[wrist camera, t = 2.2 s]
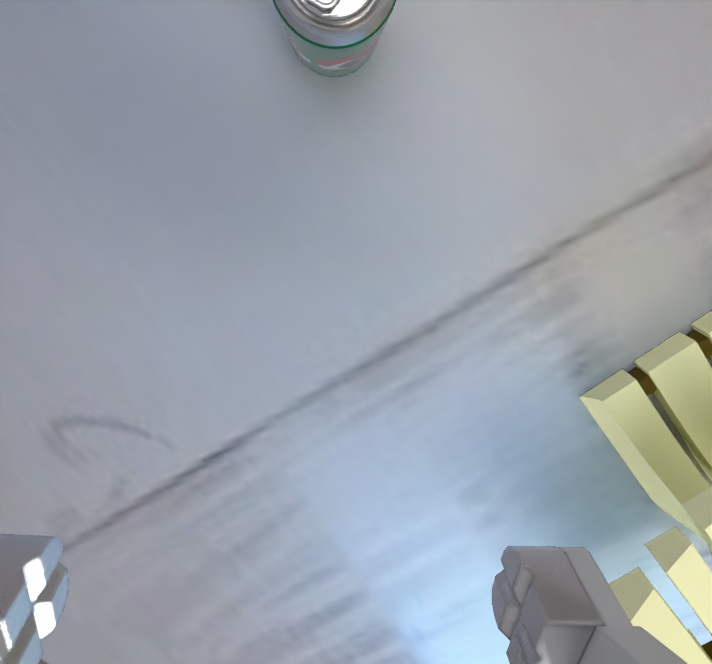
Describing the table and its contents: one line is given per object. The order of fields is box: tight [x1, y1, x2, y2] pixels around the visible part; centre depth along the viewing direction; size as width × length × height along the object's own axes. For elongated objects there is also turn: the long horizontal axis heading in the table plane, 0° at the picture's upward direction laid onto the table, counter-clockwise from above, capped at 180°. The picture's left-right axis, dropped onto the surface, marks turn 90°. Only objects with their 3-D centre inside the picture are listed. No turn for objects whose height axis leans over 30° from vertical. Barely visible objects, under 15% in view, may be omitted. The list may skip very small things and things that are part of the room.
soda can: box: [273, 0, 396, 77], centre depth 24 cm, size 5×5×12 cm
